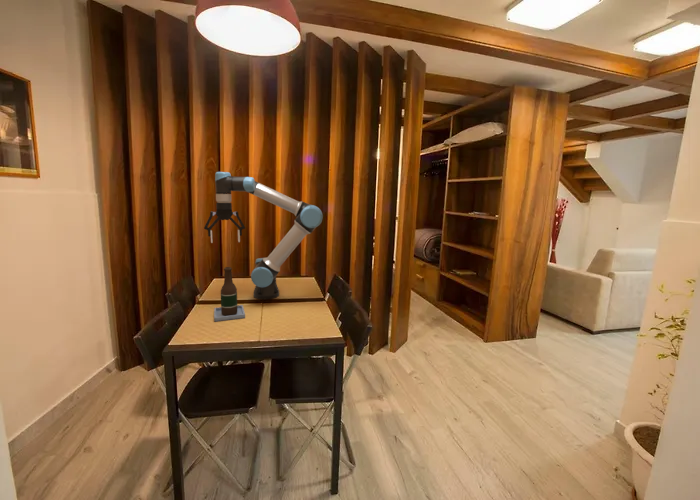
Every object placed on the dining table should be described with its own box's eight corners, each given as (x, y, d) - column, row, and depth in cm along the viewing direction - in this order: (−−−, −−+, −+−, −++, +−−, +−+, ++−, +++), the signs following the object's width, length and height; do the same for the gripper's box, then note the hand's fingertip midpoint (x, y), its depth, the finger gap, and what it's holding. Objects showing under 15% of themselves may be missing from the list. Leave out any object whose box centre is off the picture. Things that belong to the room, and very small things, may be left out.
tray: (242, 308, 167) (242, 304, 167) (245, 318, 154) (245, 314, 154) (214, 311, 162) (214, 307, 161) (214, 321, 149) (214, 317, 149)
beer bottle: (232, 317, 154) (230, 270, 149) (218, 315, 155) (215, 268, 151) (240, 311, 161) (239, 266, 157) (227, 310, 163) (225, 265, 158)
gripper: (248, 202, 172) (249, 240, 176) (197, 201, 162) (200, 241, 166) (249, 202, 165) (250, 242, 169) (197, 202, 155) (199, 244, 159)
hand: (225, 242), depth 167 cm, fingers open, 13 cm apart
